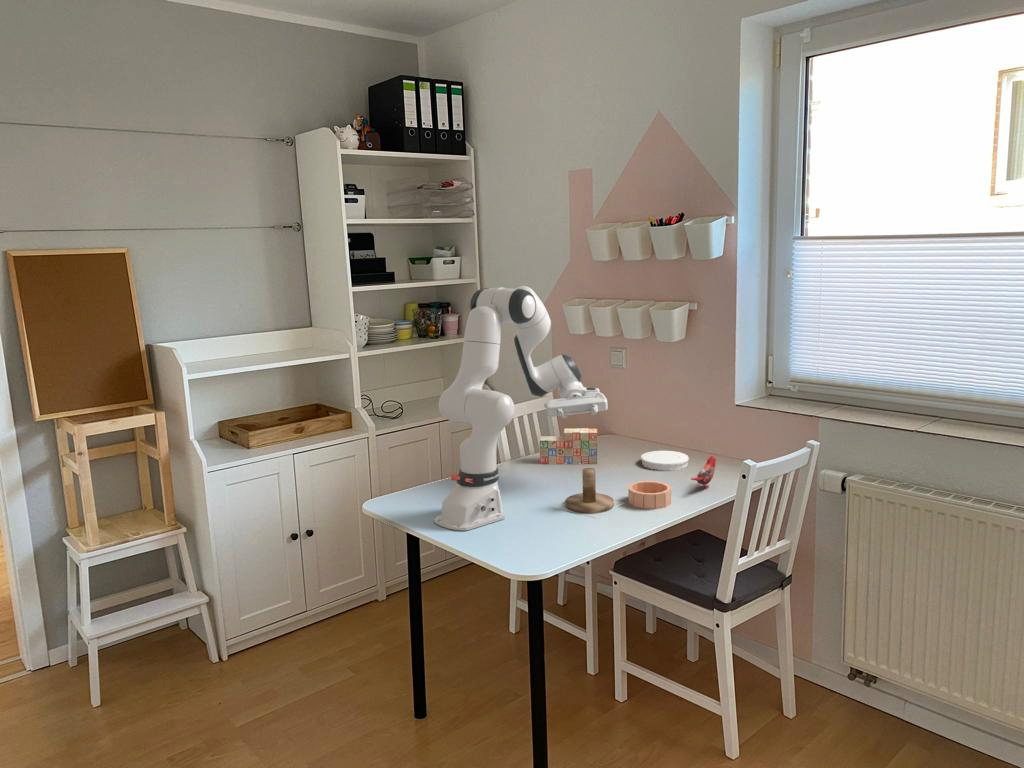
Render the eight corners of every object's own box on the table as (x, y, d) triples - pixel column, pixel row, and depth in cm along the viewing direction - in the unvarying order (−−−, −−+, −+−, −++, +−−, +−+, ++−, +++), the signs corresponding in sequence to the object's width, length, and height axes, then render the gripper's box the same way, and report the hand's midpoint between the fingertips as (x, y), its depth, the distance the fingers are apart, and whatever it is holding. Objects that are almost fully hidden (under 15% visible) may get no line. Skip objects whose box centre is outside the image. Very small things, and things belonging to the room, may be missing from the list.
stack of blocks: (539, 464, 288) (538, 432, 286) (541, 459, 294) (540, 428, 292) (597, 464, 286) (597, 432, 284) (597, 459, 292) (597, 427, 290)
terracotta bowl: (657, 512, 234) (657, 497, 233) (620, 504, 242) (620, 489, 241) (678, 501, 244) (678, 485, 243) (642, 493, 252) (642, 478, 251)
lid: (690, 457, 292) (690, 449, 291) (687, 472, 273) (687, 464, 272) (644, 455, 296) (644, 447, 296) (638, 470, 277) (638, 462, 277)
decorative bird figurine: (719, 483, 259) (719, 454, 257) (695, 498, 246) (695, 468, 244) (711, 482, 261) (711, 453, 259) (686, 496, 247) (686, 466, 246)
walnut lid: (595, 517, 231) (595, 480, 229) (555, 507, 241) (554, 471, 239) (622, 503, 242) (622, 467, 240) (583, 494, 252) (583, 460, 250)
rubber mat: (596, 519, 231) (596, 518, 231) (553, 508, 241) (553, 507, 241) (625, 504, 242) (625, 503, 242) (583, 494, 253) (583, 493, 253)
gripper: (542, 394, 261) (546, 408, 248) (603, 387, 261) (609, 401, 248) (544, 411, 263) (548, 427, 250) (604, 404, 263) (610, 419, 250)
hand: (579, 414), depth 249 cm, fingers open, 8 cm apart
